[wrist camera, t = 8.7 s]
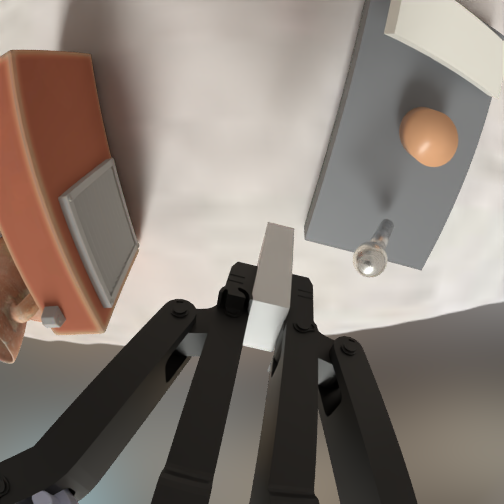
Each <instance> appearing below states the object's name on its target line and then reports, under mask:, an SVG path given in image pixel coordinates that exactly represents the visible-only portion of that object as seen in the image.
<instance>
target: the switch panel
mask: <svg viewBox="0 0 504 504" xmlns="http://www.w3.org/2000/svg"><path fill="white" fill-rule="evenodd" d="M390 3H391V0H365V4H364V8H363V13H362V17H361V22H360V26H359V31H358V35H357V39H356V43H355V47H354V52H353V56H352V60H351V64H350V68H349V72H348V76H347V79H346V83H345V87H344V91H343V95H342V99H341V102H340V106H339V110H338V114H337V117H336V121H335V125H334V128H333V132H332V135H331V139H330V142H329V146H328V149H327V153H326V156H325V160H324V163H323V167H322V170H321V174H320V177H319V180H318V184H317V187H316V190H315V194H314V197H313V200H312V203H311V207H310V210H309V213H308V216H307V220H306V223H305V226H304V233H305V240H307V241H311V242H315V243H319V244H323V245H327V246H331V247H335V248H339V249H343V250H347V251H350V252H355V250H356V248H357V247H358V246H359V245H361V244H362V243H364V242H369V241H370V240H371V238H372V237H373V235H374V233H375V231H376V230H377V228H378V226H379V224H380V222H381V221H382V220H384V219H389V220H391V221H392V222H393V224H394V229H393V232H392V234H391V237H390V239H389V241H388V244H387V246H386V248H385V251H386V253H387V258H388V261H389V262H392V263H396V264H400V265H403V266H407V267H411V268H415V269H418V270H422V268H423V266H424V265H425V263H426V261H427V259H428V257H429V255H430V253H431V251H432V249H433V247H434V246H435V244H436V242H437V240H438V238H439V236H440V234H441V231H442V229H443V227H444V225H445V223H446V221H447V219H448V217H449V215H450V212H451V210H452V208H453V206H454V203H455V201H456V199H457V196H458V194H459V192H460V189H461V187H462V185H463V182H464V180H465V177H466V175H467V172H468V169H469V167H470V164H471V161H472V159H473V156H474V153H475V150H476V147H477V145H478V142H479V139H480V136H481V132H482V129H483V126H484V123H485V120H486V116H487V113H488V109H489V106H490V102H491V98H492V97H491V96H488V95H487V94H486V93H484V92H483V91H481V90H480V89H479V88H477V87H476V86H474V85H473V84H472V83H470V82H469V81H467V80H466V79H464V78H463V77H461V76H460V75H458V74H457V73H455V72H454V71H452V70H450V69H449V68H447V67H446V66H444V65H442V64H441V63H439V62H437V61H435V60H434V59H432V58H430V57H429V56H427V55H425V54H423V53H421V52H420V51H418V50H416V49H414V48H412V47H410V46H408V45H406V44H404V43H402V42H400V41H398V40H396V39H394V38H392V37H390V36H388V35H385V34H384V30H385V26H386V21H387V17H388V12H389V7H390ZM479 20H480V19H479ZM481 21H482V20H481ZM482 22H483V21H482ZM483 23H484V24H485V25H486V26H488V27H489V28H490V29H491V30H492V31H493V32H494V33H495V34H496V35H498V36H499V37H500V38H501V39H502V40H503V41H504V36H503V35H502V34H501V33H499V32H498V31H496V30H495V29H493V28H492V27H491V26H489V25H488V24H486V23H485V22H483ZM417 107H427V108H430V109H433V110H436V111H439V112H442V113H444V114H445V115H447V116H448V117H449V118H450V119H451V120H452V121H453V123H454V125H455V127H456V129H457V133H458V146H457V150H456V152H455V154H454V156H453V157H452V159H451V160H450V161H449V162H447V163H446V164H444V165H442V166H439V167H429V166H426V165H423V164H422V163H420V162H419V161H418V160H416V159H415V158H414V157H413V156H411V155H410V154H409V153H408V152H407V151H406V150H405V149H404V147H403V145H402V143H401V140H400V135H399V129H400V124H401V121H402V119H403V117H404V116H405V115H406V114H407V113H408V112H409V111H410V110H412V109H414V108H417Z"/></svg>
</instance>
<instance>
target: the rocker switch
mask: <svg viewBox="0 0 504 504" xmlns="http://www.w3.org/2000/svg"><path fill="white" fill-rule="evenodd" d="M384 34H385V35H388V36H390V37H392V38H394V39H396V40H398V41H400V42H402V43H404V44H406V45H408V46H410V47H412V48H414V49H416V50H418V51H420V52H421V53H423V54H425V55H427V56H429V57H430V58H432V59H434V60H435V61H437V62H439V63H441V64H442V65H444V66H446V67H447V68H449V69H450V70H452V71H454V72H455V73H457V74H458V75H460V76H461V77H463V78H464V79H466V80H467V81H469V82H470V83H472V84H473V85H474V86H476V87H477V88H479V89H480V90H481V91H483V92H484V93H486V94H487V95H488V96H491V97H494V98H497V99H499V95H500V91H501V87H502V83H503V78H504V41H503V40H502V39H501V38H500V37H499V36H498V35H496V34H495V33H494V32H493V31H492V30H491V29H490V28H489V27H488V26H486V25H485V24H484V23H483V22H482V21H481V20H479V19H478V18H477V17H476V16H475V15H473V14H472V13H471V12H470V11H468V10H467V9H466V8H464V7H463V6H462V5H460V4H459V3H458V2H456V1H455V0H391V3H390V7H389V12H388V17H387V21H386V26H385V30H384Z"/></svg>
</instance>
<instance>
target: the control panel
mask: <svg viewBox="0 0 504 504" xmlns="http://www.w3.org/2000/svg"><path fill="white" fill-rule="evenodd" d="M0 232H1V234H2V236H3V239H4V241H5V243H6V245H7V248H8V250H9V252H10V254H11V256H12V259H13V261H14V263H15V265H16V267H17V269H18V271H19V273H20V275H21V277H22V279H23V281H24V282H25V284H26V286H27V288H28V290H29V292H30V294H31V295H32V297H33V299H34V301H35V302H36V304H37V306H38V308H39V309H40V311H41V313H42V316H41V320H42V324H43V325H44V326H45V327H47V328H51V329H52V330H53V332H54V333H55V334H56V335H76V334H102V333H104V332H105V331H106V328H107V326H108V323H109V321H110V318H111V316H112V313H113V310H114V308H115V305H116V303H117V300H118V298H119V296H120V293H121V291H122V288H123V286H124V284H125V281H126V279H127V277H128V274H129V272H130V270H131V267H132V265H133V263H134V261H135V258H136V256H137V254H138V252H139V250H138V248H139V243H138V241H137V238H136V235H135V232H134V229H133V226H132V222H131V219H130V216H129V213H128V209H127V206H126V202H125V199H124V196H123V192H122V188H121V185H120V181H119V177H118V174H117V170H116V166H115V161H114V158H111V154H110V150H109V146H108V142H107V137H106V133H105V129H104V124H103V119H102V115H101V110H100V105H99V100H98V94H97V89H96V83H95V77H94V71H93V65H92V58H91V54H87V53H77V52H65V51H48V50H10V51H8V52H7V53H5V54H4V55H2V56H1V57H0Z"/></svg>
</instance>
